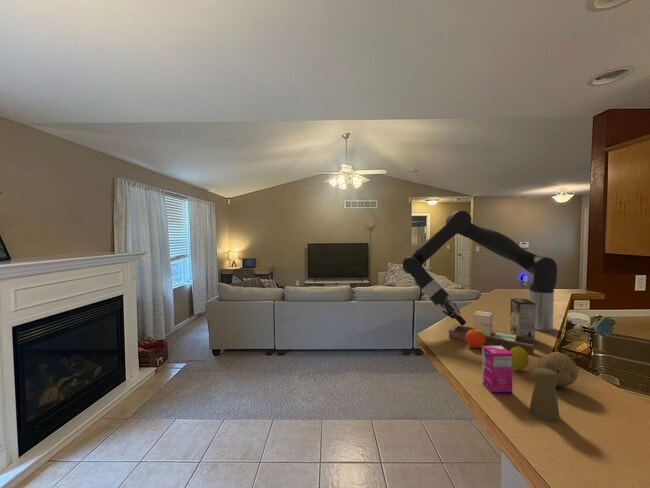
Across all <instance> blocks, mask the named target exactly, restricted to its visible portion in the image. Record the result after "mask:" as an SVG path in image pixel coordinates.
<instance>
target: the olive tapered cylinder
mask: <svg viewBox="0 0 650 488" xmlns="http://www.w3.org/2000/svg"><path fill="white" fill-rule="evenodd" d="M531 376H532V377H531V378H532V379H533V381H534V385H533V388H532V393H531V394H532V395H531V400H530V404H529V405H530V407H529V410H528V411H529V413H530V414H531V415H532V416H534V417H535V418H536V419H539V420H541V421H545V422H549V423H550V422H551V423H556V422H560V419H561V417H560V411H559V401H558V395H557V389H556V388H557V387H556V385H557V384H558V380H559V378H558V376H557V374H556V373H555V372H554V371H552V370H550V369H546V368H539V367H535V368H534V369H533V370H532V374H531Z"/></svg>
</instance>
